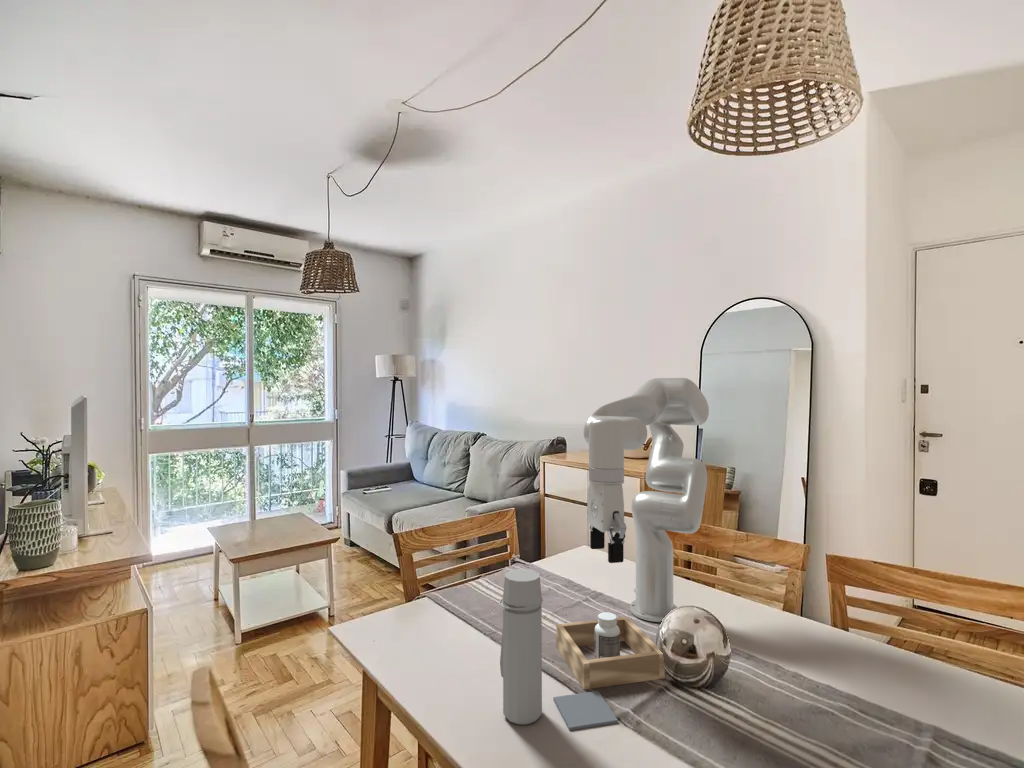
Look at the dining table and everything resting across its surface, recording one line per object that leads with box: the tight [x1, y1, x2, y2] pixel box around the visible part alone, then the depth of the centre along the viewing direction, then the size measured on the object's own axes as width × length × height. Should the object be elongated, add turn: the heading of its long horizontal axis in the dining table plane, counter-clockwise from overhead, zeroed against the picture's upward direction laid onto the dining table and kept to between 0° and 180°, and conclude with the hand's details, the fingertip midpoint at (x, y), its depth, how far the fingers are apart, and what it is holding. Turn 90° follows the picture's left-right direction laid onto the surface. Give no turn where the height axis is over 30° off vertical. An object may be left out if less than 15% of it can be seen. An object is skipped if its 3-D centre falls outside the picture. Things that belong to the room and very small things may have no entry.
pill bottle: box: [594, 611, 621, 659], centre depth 111 cm, size 5×5×10 cm
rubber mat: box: [553, 690, 619, 731], centre depth 94 cm, size 9×9×1 cm
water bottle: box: [498, 568, 544, 725], centre depth 94 cm, size 9×8×25 cm
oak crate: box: [555, 616, 666, 690], centre depth 111 cm, size 17×17×5 cm
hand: (606, 555), depth 111 cm, fingers open, 9 cm apart
